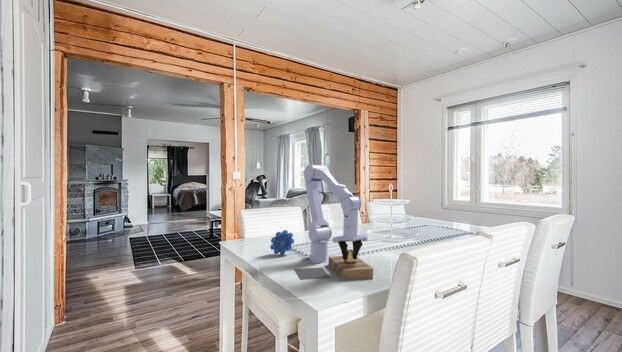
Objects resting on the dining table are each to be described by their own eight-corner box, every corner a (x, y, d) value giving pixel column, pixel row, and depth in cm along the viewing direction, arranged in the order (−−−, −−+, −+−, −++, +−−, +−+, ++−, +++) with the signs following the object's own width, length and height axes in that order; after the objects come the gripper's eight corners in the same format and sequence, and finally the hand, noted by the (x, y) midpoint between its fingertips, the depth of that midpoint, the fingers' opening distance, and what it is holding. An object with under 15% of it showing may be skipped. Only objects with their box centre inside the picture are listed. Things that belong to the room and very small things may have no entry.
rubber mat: (293, 270, 118) (293, 269, 118) (321, 268, 121) (321, 267, 121) (300, 281, 106) (300, 279, 106) (330, 278, 110) (330, 277, 110)
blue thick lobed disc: (293, 251, 145) (293, 228, 145) (294, 255, 139) (295, 230, 139) (269, 252, 143) (270, 228, 143) (270, 256, 137) (270, 231, 137)
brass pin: (344, 271, 119) (344, 249, 119) (351, 270, 120) (351, 248, 119) (347, 273, 116) (347, 251, 116) (354, 272, 117) (354, 250, 117)
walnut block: (328, 265, 125) (328, 256, 125) (354, 264, 128) (354, 255, 128) (343, 281, 108) (343, 270, 108) (372, 278, 111) (373, 268, 111)
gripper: (337, 228, 112) (336, 263, 112) (371, 227, 116) (370, 261, 116) (331, 225, 119) (330, 257, 119) (363, 224, 122) (362, 256, 123)
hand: (349, 259), depth 118 cm, fingers open, 4 cm apart
